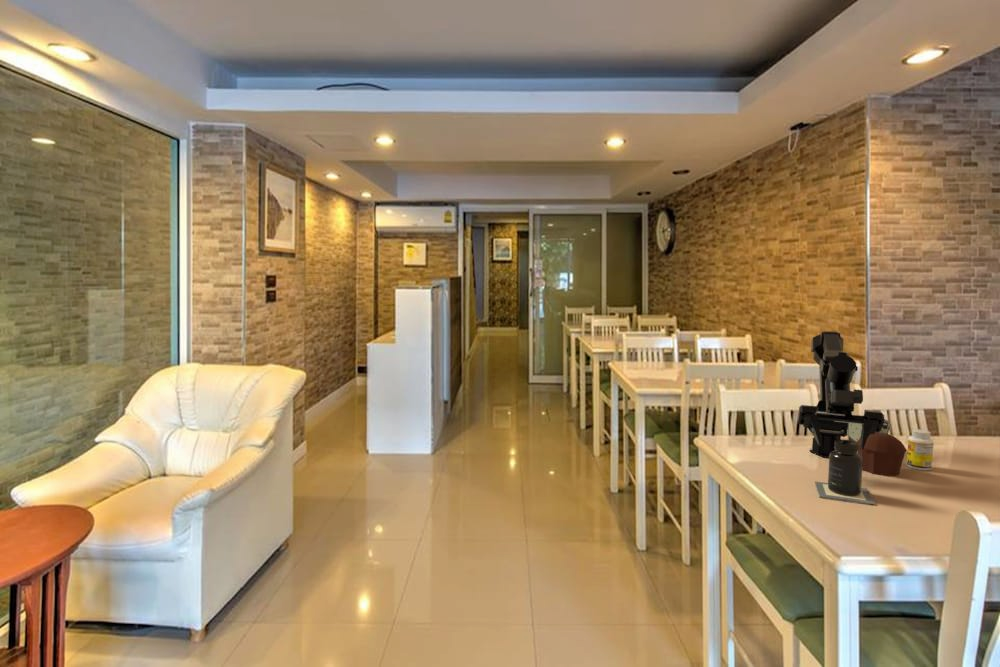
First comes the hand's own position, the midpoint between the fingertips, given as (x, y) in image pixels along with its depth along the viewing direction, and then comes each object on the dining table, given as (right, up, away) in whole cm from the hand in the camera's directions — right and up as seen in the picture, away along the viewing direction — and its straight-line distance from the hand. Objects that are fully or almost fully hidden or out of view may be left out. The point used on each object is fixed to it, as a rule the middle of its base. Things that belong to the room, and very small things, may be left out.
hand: (841, 447), depth 144 cm
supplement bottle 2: (+29, -9, +14) cm, 34 cm away
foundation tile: (-3, -10, -7) cm, 12 cm away
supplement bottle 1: (-3, -9, -6) cm, 12 cm away
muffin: (+17, -9, +11) cm, 22 cm away
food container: (+26, -7, +30) cm, 40 cm away
